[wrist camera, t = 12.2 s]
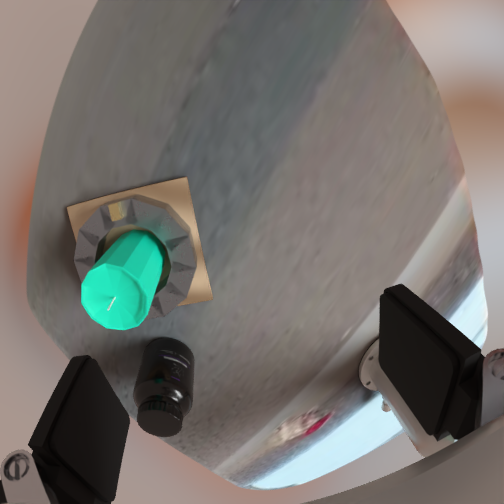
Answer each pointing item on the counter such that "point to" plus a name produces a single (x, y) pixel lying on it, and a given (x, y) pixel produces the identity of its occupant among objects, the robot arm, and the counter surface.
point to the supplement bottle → (164, 387)
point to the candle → (124, 281)
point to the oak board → (180, 201)
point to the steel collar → (162, 225)
